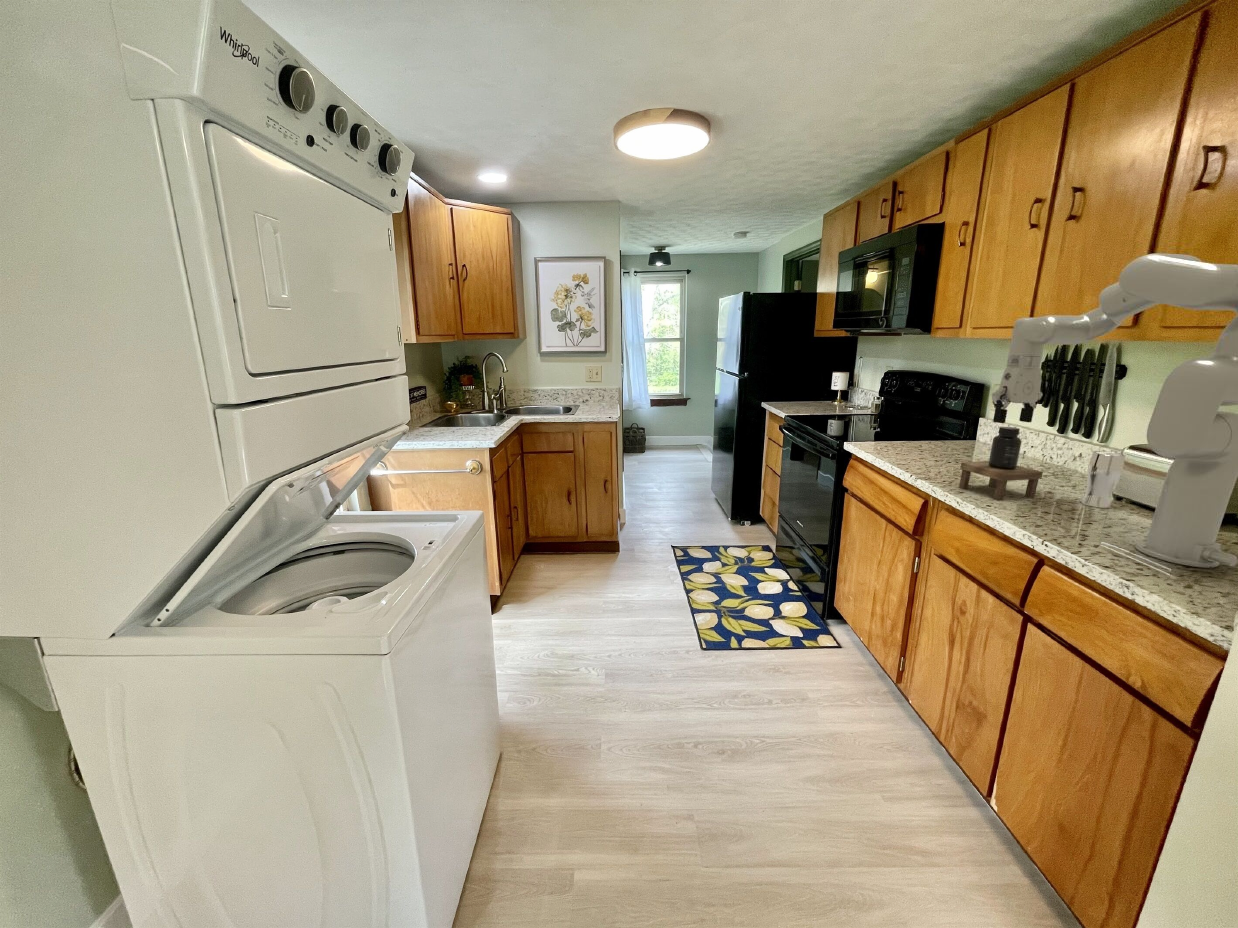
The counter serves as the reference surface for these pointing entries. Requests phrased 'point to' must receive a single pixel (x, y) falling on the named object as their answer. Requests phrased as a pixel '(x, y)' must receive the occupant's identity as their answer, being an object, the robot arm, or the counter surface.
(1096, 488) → the beer glass
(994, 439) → the supplement bottle
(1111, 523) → the counter surface
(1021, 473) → the walnut stool
